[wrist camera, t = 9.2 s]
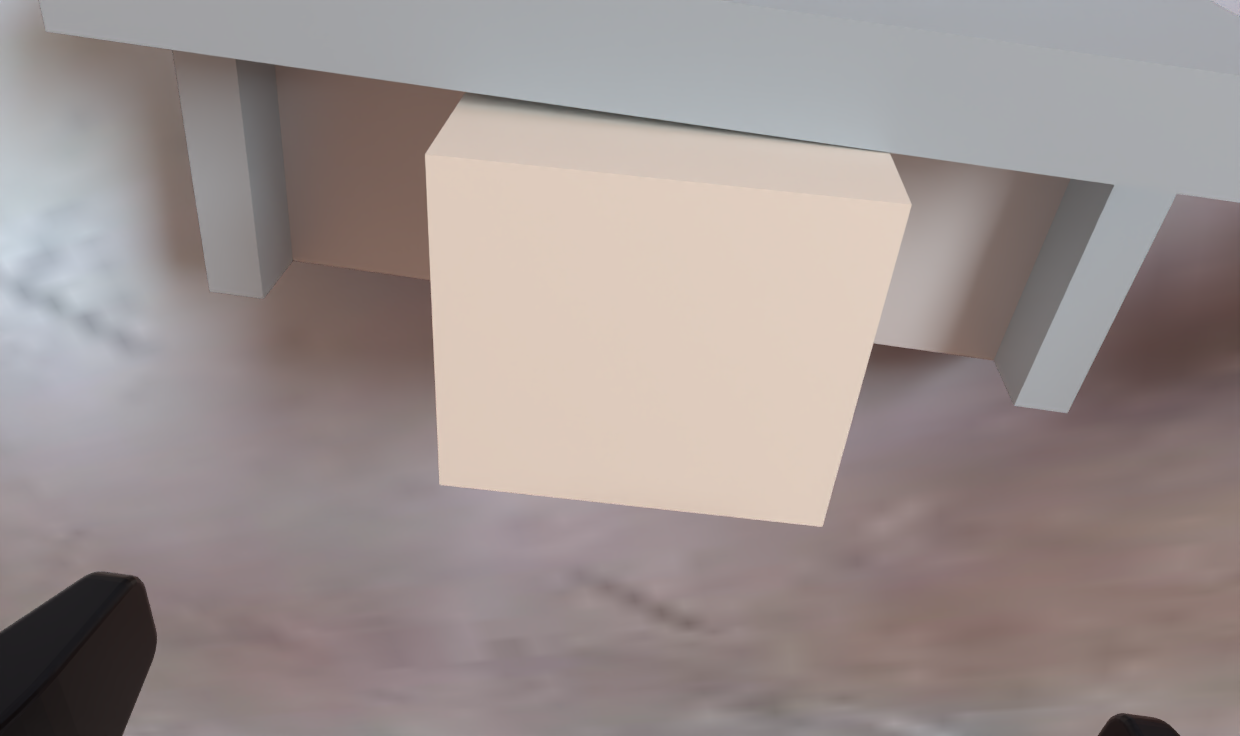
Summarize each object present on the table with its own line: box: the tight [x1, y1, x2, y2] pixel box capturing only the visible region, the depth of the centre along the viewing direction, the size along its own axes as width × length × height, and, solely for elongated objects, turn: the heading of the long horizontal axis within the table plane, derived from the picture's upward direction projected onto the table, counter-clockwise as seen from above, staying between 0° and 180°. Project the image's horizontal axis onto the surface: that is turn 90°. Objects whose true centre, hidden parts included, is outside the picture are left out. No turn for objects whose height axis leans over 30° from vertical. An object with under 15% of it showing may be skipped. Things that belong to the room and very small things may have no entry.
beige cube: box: [425, 92, 912, 527], centre depth 15 cm, size 6×6×6 cm
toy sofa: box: [39, 0, 1240, 413], centre depth 15 cm, size 7×16×6 cm, turn 83°
